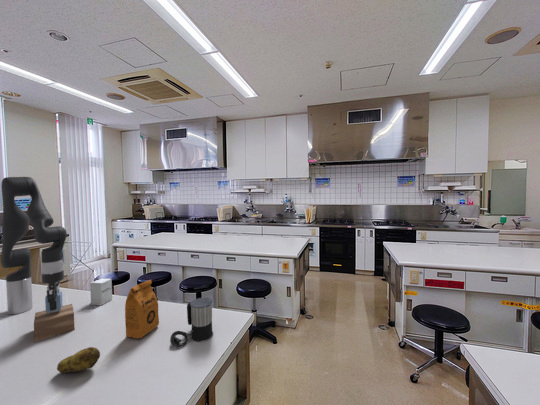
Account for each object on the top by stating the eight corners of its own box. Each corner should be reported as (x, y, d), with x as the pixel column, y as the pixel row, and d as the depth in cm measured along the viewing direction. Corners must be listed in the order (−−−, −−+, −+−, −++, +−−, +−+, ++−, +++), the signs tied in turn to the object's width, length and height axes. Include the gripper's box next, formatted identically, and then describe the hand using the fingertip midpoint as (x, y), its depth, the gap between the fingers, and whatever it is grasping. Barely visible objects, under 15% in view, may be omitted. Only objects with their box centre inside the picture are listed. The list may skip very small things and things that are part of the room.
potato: (80, 359, 88) (79, 338, 88) (105, 367, 84) (104, 345, 84) (53, 375, 80) (52, 352, 80) (79, 384, 76) (78, 360, 76)
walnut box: (36, 329, 109) (35, 312, 108) (72, 319, 118) (72, 303, 117) (34, 342, 99) (33, 323, 99) (74, 330, 108) (73, 313, 108)
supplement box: (101, 305, 132) (100, 283, 131) (90, 304, 133) (89, 282, 133) (112, 299, 139) (112, 278, 139) (102, 299, 140) (101, 278, 140)
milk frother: (217, 331, 105) (216, 298, 104) (195, 354, 90) (194, 316, 90) (190, 326, 110) (190, 294, 109) (165, 347, 95) (164, 310, 94)
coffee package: (162, 326, 110) (161, 279, 109) (139, 342, 98) (137, 289, 97) (146, 322, 113) (145, 277, 112) (122, 337, 101) (120, 287, 101)
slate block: (48, 308, 109) (47, 293, 109) (62, 305, 112) (61, 291, 111) (45, 313, 105) (45, 297, 104) (60, 310, 107) (60, 294, 107)
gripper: (45, 268, 111) (46, 303, 112) (37, 276, 100) (39, 316, 100) (65, 265, 116) (67, 299, 116) (61, 273, 104) (62, 311, 104)
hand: (54, 307), depth 108 cm, fingers closed on slate block, 4 cm apart
